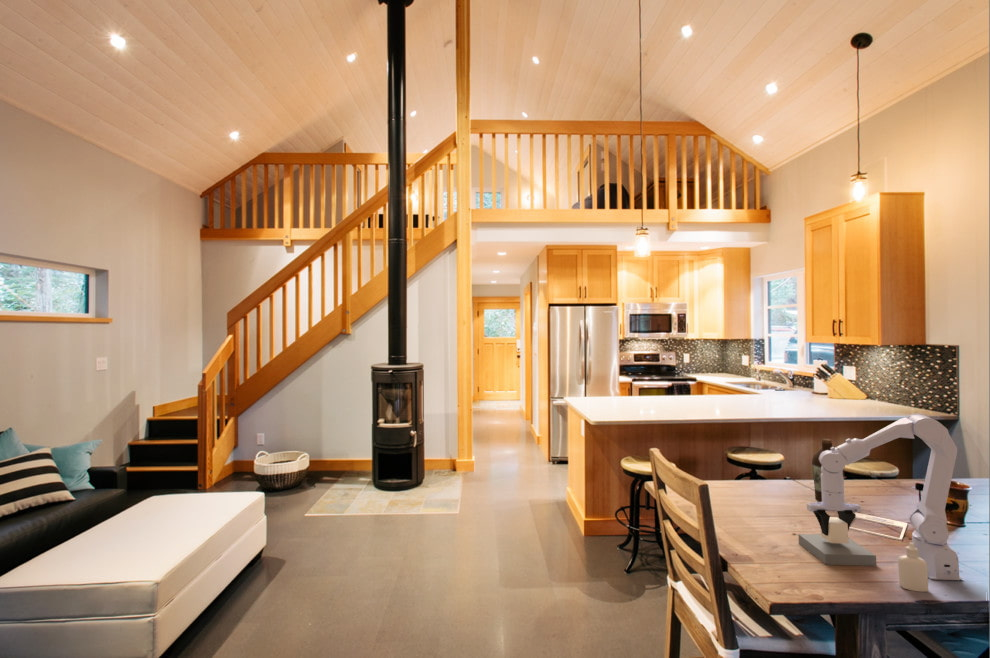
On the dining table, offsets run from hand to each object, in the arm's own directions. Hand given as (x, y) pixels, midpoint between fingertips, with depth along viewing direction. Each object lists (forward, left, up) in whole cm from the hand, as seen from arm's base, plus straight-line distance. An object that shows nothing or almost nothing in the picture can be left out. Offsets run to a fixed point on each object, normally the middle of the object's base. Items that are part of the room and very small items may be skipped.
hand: (834, 534), depth 140 cm
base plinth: (0, 0, -6) cm, 6 cm away
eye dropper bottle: (-19, -8, -6) cm, 22 cm away
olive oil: (+47, -26, -6) cm, 54 cm away
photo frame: (+22, -27, -7) cm, 35 cm away
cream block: (0, 0, -2) cm, 2 cm away
